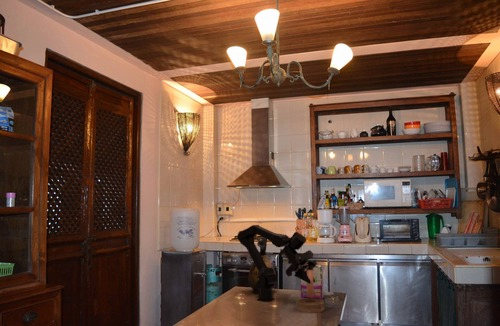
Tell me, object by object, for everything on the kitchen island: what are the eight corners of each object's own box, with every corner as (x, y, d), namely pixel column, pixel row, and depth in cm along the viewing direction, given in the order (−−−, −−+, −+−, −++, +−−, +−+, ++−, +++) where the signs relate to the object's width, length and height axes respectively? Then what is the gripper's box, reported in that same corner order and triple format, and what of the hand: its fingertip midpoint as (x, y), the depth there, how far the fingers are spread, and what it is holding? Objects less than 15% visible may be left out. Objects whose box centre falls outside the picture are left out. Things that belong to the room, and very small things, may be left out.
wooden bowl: (293, 310, 180) (293, 302, 181) (303, 304, 191) (303, 297, 191) (318, 314, 174) (318, 305, 175) (327, 307, 185) (327, 300, 185)
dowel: (307, 297, 182) (306, 270, 183) (306, 295, 185) (306, 269, 186) (313, 297, 182) (313, 270, 183) (313, 295, 184) (313, 269, 186)
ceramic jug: (273, 296, 209) (272, 238, 212) (245, 294, 213) (244, 238, 216) (278, 289, 226) (277, 236, 229) (252, 288, 229) (251, 236, 232)
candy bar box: (323, 297, 206) (322, 265, 208) (322, 299, 201) (321, 266, 203) (302, 295, 209) (301, 264, 211) (300, 297, 205) (300, 265, 206)
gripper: (290, 246, 181) (310, 274, 173) (313, 243, 195) (333, 268, 186) (277, 262, 186) (296, 289, 177) (300, 258, 200) (319, 283, 191)
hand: (312, 282), depth 183 cm, fingers closed on dowel, 3 cm apart
